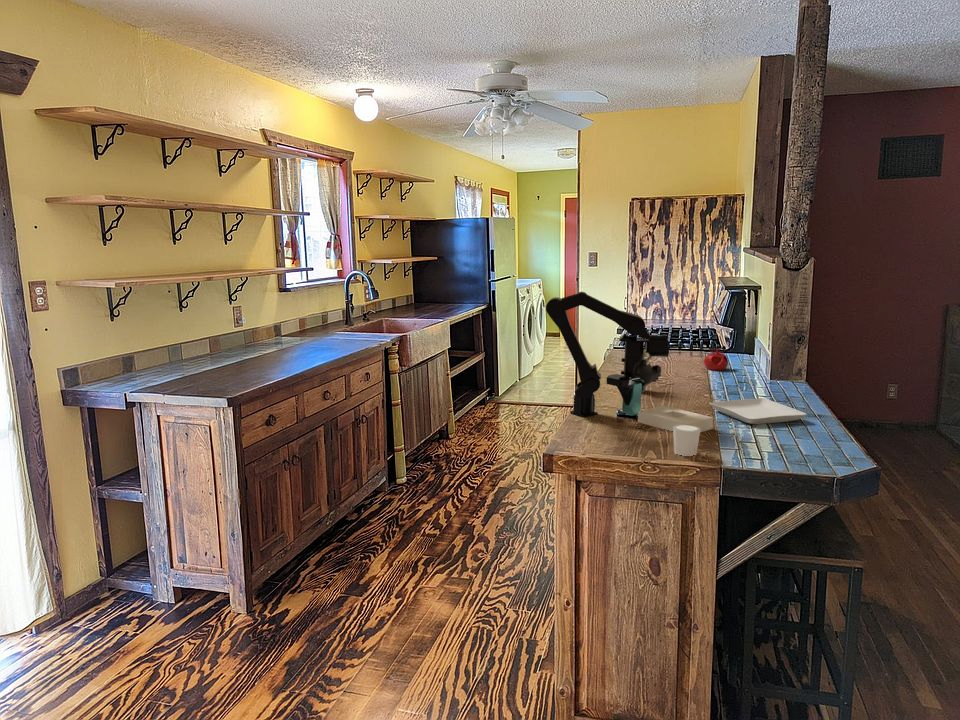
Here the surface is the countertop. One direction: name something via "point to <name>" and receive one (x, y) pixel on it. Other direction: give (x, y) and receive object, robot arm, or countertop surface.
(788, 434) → the countertop surface
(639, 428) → the countertop surface
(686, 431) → the white tapered cup
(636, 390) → the teal rectangular block
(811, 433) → the countertop surface
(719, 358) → the pomegranate
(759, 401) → the salad plate
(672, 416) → the beige square hole board
